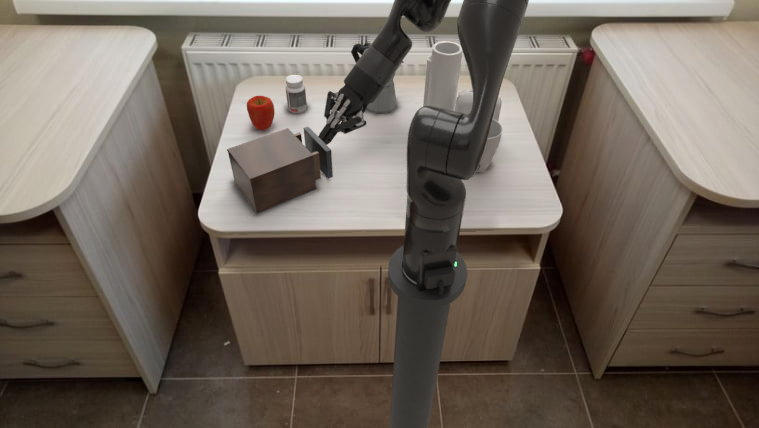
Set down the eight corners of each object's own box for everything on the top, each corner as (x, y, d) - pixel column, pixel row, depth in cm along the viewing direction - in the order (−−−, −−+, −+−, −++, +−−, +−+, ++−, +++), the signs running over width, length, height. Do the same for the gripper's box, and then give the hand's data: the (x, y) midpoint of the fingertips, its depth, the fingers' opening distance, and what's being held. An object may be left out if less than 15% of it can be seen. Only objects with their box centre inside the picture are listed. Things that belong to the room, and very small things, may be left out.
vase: (454, 132, 130) (465, 55, 116) (424, 132, 130) (431, 55, 116) (449, 106, 138) (458, 31, 124) (421, 105, 138) (427, 30, 124)
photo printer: (451, 140, 127) (457, 94, 119) (451, 129, 130) (457, 84, 122) (495, 143, 127) (504, 97, 118) (494, 132, 130) (503, 87, 121)
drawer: (315, 151, 122) (313, 124, 117) (337, 175, 116) (336, 147, 111) (259, 172, 117) (254, 145, 112) (280, 198, 111) (275, 170, 106)
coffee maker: (410, 104, 138) (414, 38, 125) (391, 120, 133) (394, 53, 120) (362, 86, 144) (362, 21, 131) (343, 101, 139) (340, 34, 126)
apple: (281, 124, 131) (278, 97, 126) (265, 137, 127) (260, 109, 122) (262, 116, 133) (257, 89, 128) (244, 128, 130) (239, 101, 124)
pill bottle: (310, 108, 136) (308, 78, 130) (296, 115, 134) (293, 85, 128) (298, 101, 139) (295, 71, 133) (284, 108, 136) (280, 78, 130)
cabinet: (292, 161, 121) (287, 127, 115) (316, 189, 114) (313, 155, 108) (234, 183, 115) (227, 149, 109) (256, 213, 109) (249, 179, 102)
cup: (451, 159, 122) (456, 122, 115) (481, 149, 125) (487, 112, 118) (471, 180, 117) (478, 142, 110) (502, 169, 120) (510, 132, 113)
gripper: (342, 52, 112) (295, 120, 116) (378, 80, 104) (326, 152, 108) (364, 68, 118) (318, 132, 122) (399, 96, 110) (349, 164, 114)
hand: (322, 141), depth 115 cm, fingers closed
